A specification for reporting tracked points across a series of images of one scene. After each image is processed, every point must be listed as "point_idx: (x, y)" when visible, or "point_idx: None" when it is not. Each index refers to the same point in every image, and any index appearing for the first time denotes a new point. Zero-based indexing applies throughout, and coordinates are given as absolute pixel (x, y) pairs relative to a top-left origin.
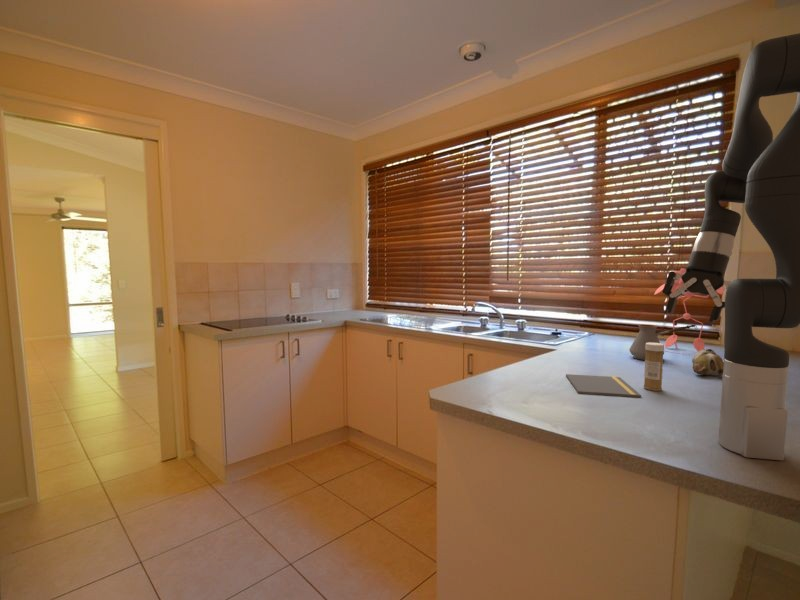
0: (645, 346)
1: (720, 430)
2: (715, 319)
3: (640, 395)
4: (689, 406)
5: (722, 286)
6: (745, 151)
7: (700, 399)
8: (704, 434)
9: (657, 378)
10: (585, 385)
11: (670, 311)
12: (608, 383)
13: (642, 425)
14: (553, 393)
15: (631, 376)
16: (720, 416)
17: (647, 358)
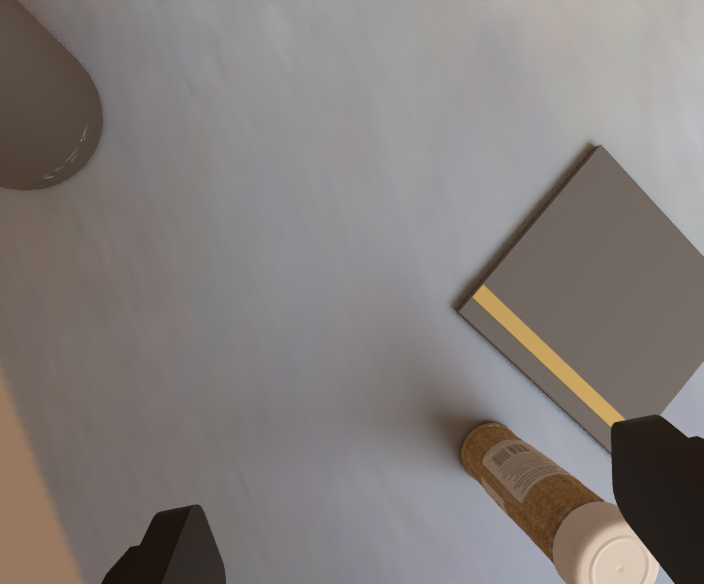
0: None
1: (60, 44)
2: (132, 553)
3: (460, 309)
4: (317, 368)
5: None
6: None
7: (337, 486)
8: (153, 122)
9: (488, 457)
10: (627, 236)
11: (631, 421)
12: (598, 341)
13: (298, 23)
14: (639, 64)
15: None
16: (44, 30)
17: (576, 481)
